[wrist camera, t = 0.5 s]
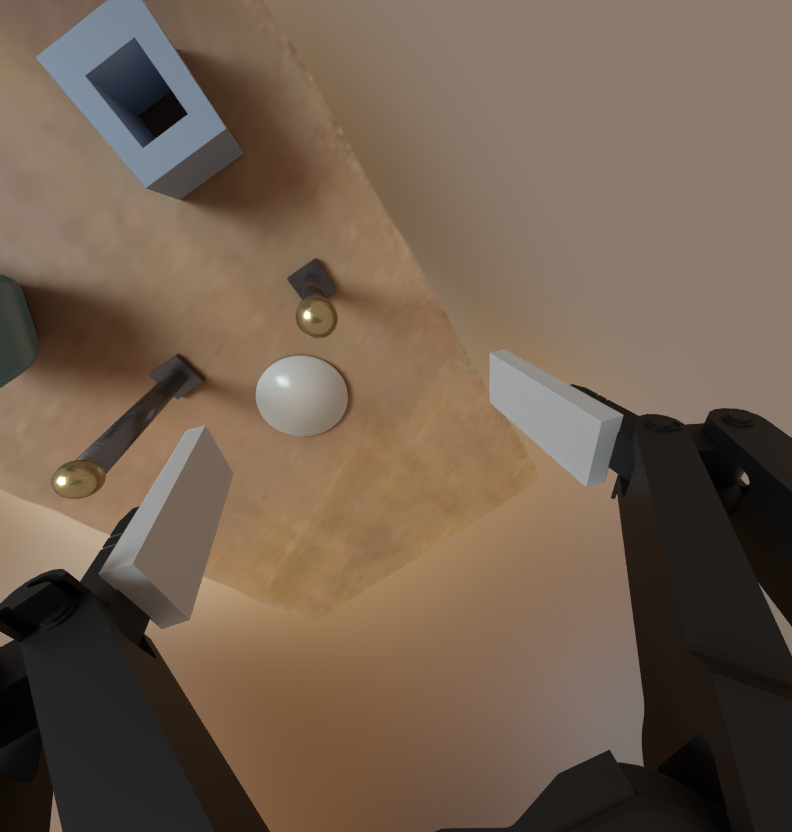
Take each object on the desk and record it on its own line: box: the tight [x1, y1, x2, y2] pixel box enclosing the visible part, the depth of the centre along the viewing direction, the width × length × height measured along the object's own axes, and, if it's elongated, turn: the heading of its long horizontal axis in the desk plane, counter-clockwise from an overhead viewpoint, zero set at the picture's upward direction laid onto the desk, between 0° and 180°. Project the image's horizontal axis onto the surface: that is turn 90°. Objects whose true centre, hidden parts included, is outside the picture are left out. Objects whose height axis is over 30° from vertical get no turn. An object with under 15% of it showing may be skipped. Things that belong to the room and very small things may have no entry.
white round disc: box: [256, 355, 348, 437], centre depth 39 cm, size 11×11×1 cm
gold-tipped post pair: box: [51, 258, 338, 499], centre depth 26 cm, size 4×22×19 cm, turn 120°
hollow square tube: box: [36, 0, 244, 200], centre depth 23 cm, size 7×7×7 cm
